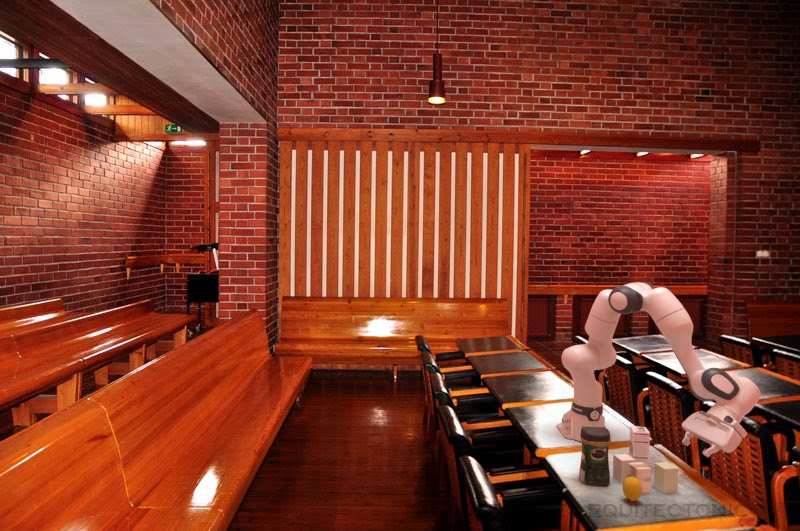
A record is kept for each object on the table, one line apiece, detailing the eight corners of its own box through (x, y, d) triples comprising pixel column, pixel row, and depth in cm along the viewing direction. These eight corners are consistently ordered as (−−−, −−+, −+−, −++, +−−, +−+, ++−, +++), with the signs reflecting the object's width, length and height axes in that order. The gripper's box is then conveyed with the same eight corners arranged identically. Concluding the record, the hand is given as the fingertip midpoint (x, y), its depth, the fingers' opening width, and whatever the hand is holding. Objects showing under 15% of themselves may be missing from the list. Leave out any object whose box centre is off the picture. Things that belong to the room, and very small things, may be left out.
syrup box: (649, 472, 188) (651, 432, 187) (631, 470, 189) (633, 430, 189) (645, 465, 194) (646, 426, 193) (628, 464, 195) (629, 425, 194)
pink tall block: (627, 486, 177) (628, 463, 177) (641, 485, 178) (641, 462, 177) (636, 493, 172) (637, 469, 172) (650, 492, 173) (651, 468, 173)
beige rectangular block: (653, 486, 178) (654, 462, 177) (667, 485, 178) (668, 461, 178) (663, 493, 173) (664, 469, 172) (677, 492, 173) (678, 468, 173)
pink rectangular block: (612, 477, 184) (613, 454, 183) (625, 476, 185) (626, 454, 184) (621, 484, 179) (621, 460, 178) (634, 483, 180) (635, 459, 179)
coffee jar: (604, 476, 184) (606, 423, 183) (612, 487, 176) (614, 432, 175) (576, 475, 185) (577, 422, 184) (582, 486, 177) (584, 431, 176)
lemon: (625, 495, 171) (626, 470, 170) (643, 501, 167) (644, 476, 167) (619, 501, 166) (620, 476, 166) (638, 507, 163) (639, 482, 163)
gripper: (693, 403, 188) (667, 432, 186) (740, 423, 167) (711, 455, 166) (704, 415, 189) (678, 443, 187) (751, 436, 168) (723, 468, 167)
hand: (694, 449), depth 177 cm, fingers open, 8 cm apart
